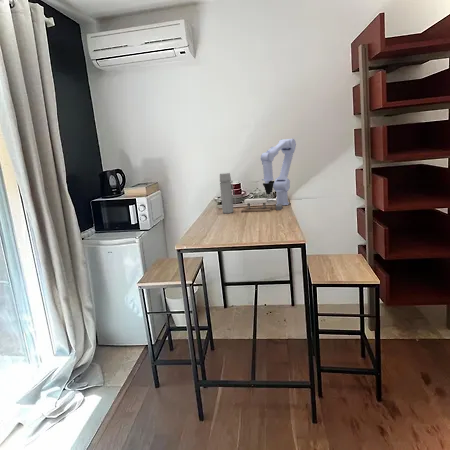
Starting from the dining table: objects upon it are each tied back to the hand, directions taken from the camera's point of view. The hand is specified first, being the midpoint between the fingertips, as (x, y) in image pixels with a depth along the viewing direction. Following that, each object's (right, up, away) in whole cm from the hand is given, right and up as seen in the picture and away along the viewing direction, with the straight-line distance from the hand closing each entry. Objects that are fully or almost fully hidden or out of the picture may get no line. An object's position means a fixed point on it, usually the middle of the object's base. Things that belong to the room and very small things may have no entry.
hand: (269, 193), depth 243 cm
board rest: (+6, -10, -1) cm, 12 cm away
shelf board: (-9, -6, 0) cm, 10 cm away
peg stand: (-8, -11, +1) cm, 13 cm away
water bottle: (-25, -12, +2) cm, 28 cm away
